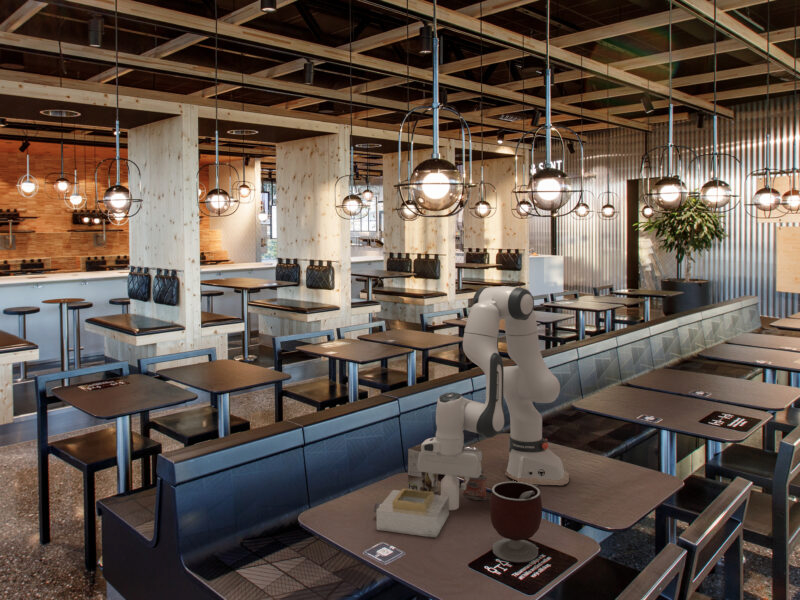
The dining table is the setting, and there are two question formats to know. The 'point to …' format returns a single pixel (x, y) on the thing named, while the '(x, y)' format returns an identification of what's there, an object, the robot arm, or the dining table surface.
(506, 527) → the mate gourd
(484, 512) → the dining table surface
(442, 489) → the roll
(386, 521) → the white box
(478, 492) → the lighter
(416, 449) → the coffee box
